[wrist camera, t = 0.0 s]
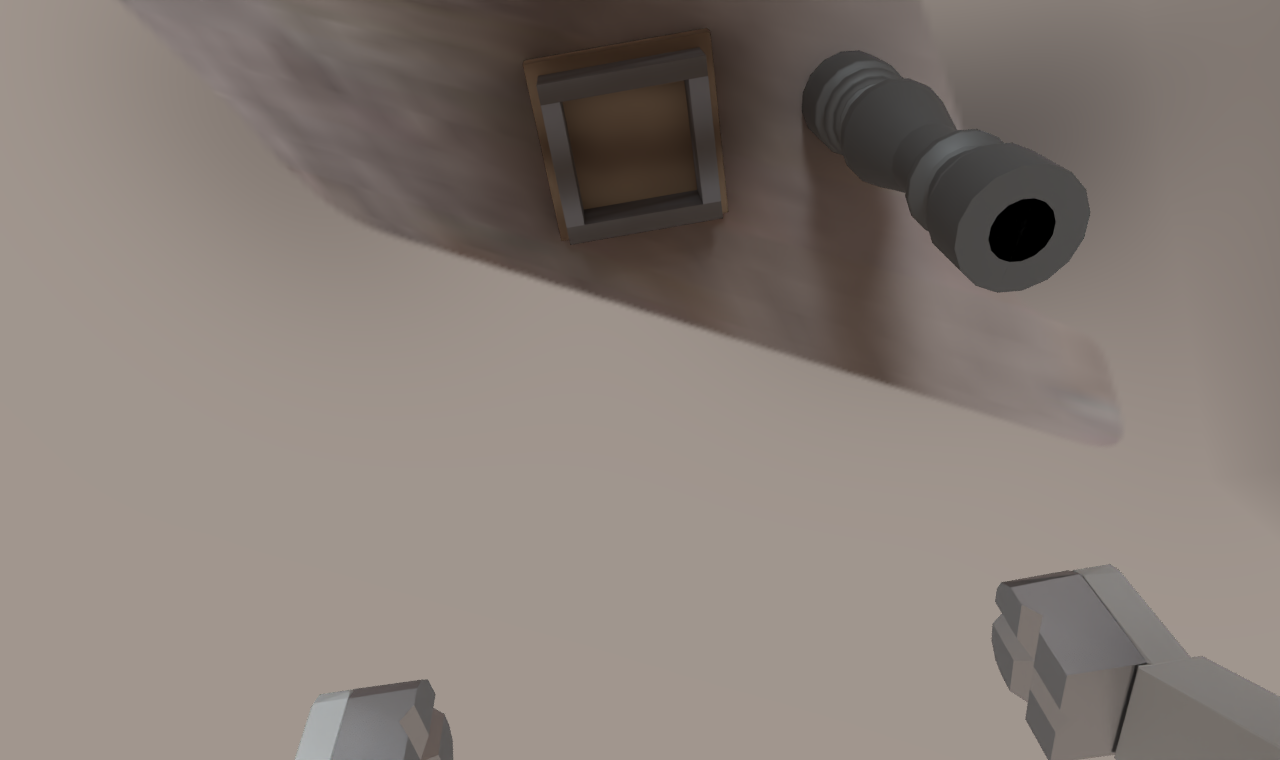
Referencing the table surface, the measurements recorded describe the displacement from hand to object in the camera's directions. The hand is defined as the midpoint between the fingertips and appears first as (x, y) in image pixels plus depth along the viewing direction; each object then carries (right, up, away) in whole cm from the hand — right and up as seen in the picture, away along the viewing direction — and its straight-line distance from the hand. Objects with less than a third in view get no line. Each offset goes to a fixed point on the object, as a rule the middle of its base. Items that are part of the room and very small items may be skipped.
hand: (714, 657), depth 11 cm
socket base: (-2, +21, +44) cm, 48 cm away
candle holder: (+13, +23, +44) cm, 51 cm away
